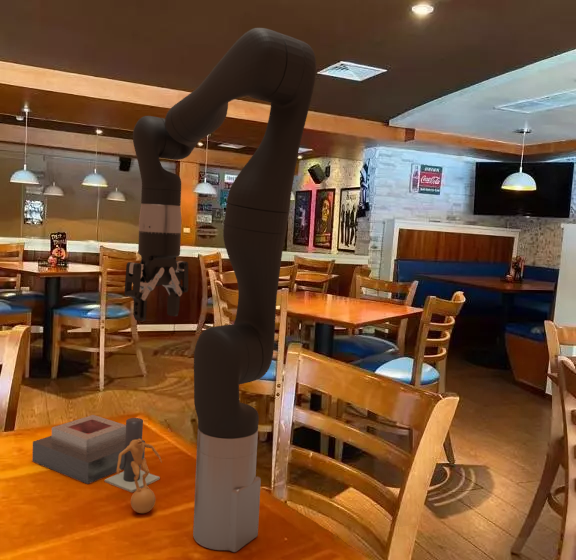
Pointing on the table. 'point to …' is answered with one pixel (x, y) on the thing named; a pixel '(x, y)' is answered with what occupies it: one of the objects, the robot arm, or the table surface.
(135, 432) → the dark grey cylinder
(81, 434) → the box
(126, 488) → the pad
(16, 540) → the table surface
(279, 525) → the table surface
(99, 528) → the table surface
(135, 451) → the figurine
